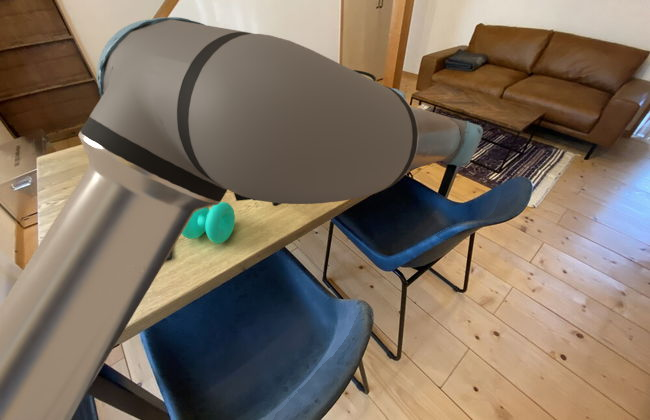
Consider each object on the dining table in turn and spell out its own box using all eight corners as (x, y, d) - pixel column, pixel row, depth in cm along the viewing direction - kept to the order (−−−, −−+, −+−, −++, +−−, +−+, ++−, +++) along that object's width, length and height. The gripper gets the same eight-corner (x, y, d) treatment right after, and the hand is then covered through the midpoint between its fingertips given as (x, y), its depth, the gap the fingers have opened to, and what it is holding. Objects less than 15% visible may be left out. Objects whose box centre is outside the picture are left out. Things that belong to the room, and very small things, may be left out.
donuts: (205, 218, 74) (193, 189, 68) (240, 223, 73) (231, 194, 66) (184, 246, 67) (168, 216, 61) (222, 252, 66) (210, 223, 59)
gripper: (344, 216, 55) (236, 228, 53) (326, 152, 73) (245, 159, 71) (346, 186, 50) (226, 198, 48) (326, 125, 68) (238, 132, 66)
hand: (237, 174), depth 59 cm, fingers open, 13 cm apart
